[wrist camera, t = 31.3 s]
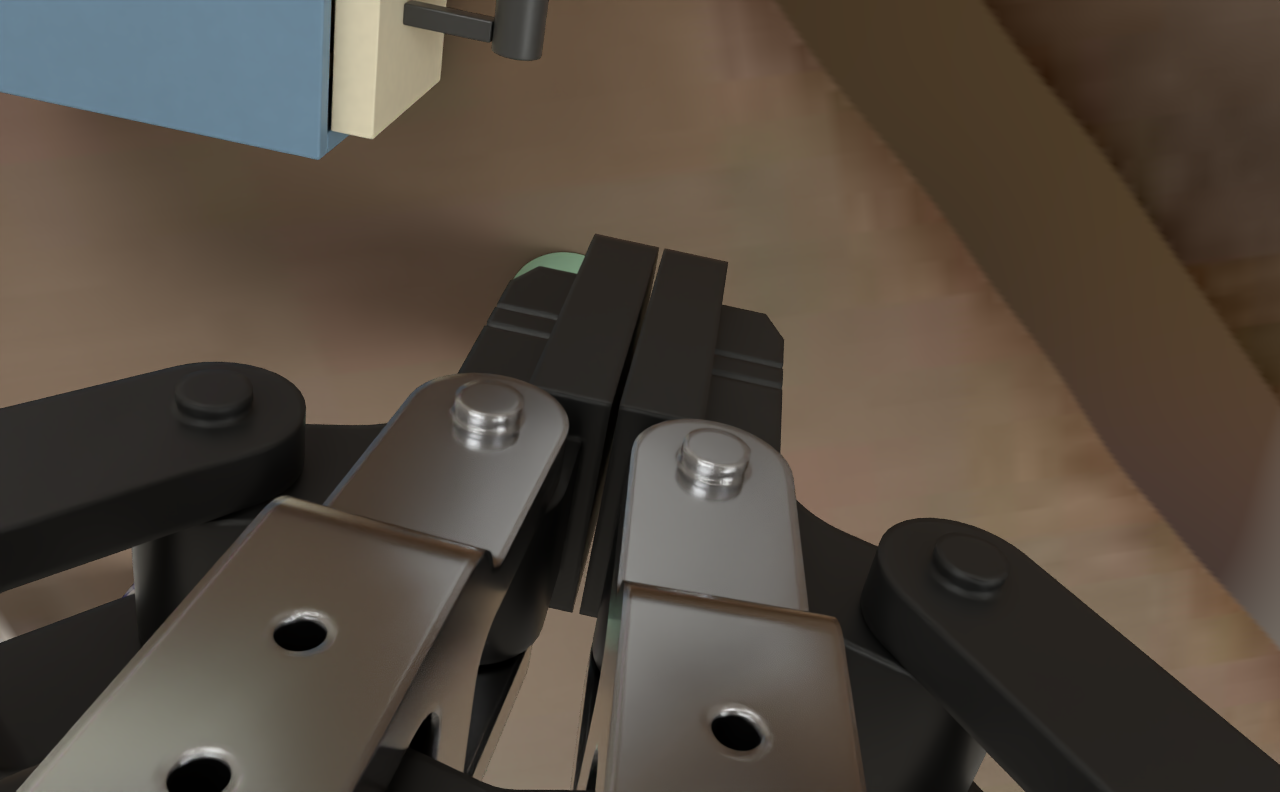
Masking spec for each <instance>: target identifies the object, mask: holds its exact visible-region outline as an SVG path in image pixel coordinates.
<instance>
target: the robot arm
mask: <svg viewBox="0 0 1280 792" xmlns="http://www.w3.org/2000/svg"><path fill="white" fill-rule="evenodd" d="M658 252H659V247H655V246H650V245H645V244H641V243H636V242H631V241H627V240H622V239H617V238H613V237H608V236H603V235H599V234H595V235H594V237H593V239H592V241H591V243H590V246H589V248H588V250H587V253H586V255H585V257H584V259H583V262H582V264H581V266H580V268H579V271H578V273H577V274H576V273H571V272H566V271H562V270H557V269H552V268H548V267H543V266H538V267H536V268H534V269H532V270H530V271H528V272H526V273H524V274H522V275H520V276H518V277H516V278H515V279H513V280H511V281H510V282H509V284H508V285H507V287H506V289H505V291H504V292H503V294H502V296H501V298H500V299H499V301H498V304H497V307H495V308H494V310H493V312H492V314H491V315H490V317H489V319H488V321H487V325H486V326H484V328H483V329H482V331H481V333H480V335H479V337H478V338H477V340H476V342H475V344H474V345H473V347H472V349H471V351H470V352H469V354H468V356H467V358H466V360H465V361H464V363H463V365H462V367H461V368H460V370H459V372H458V374H453V375H447V376H443V377H439V378H436V379H433V380H431V381H429V382H426V383H424V384H423V385H421V386H420V387H418V388H416V389H415V390H414V391H413V392H412V393H411V394H410V395H409V397H408V398H407V399H406V401H405V402H404V403H403V404H402V406H401V407H400V408H399V409H398V411H397V412H396V413H395V414H394V416H393V417H392V418H391V419H390V421H389V422H388V423H385V424H375V425H320V424H305V421H306V405H305V400H304V397H303V396H302V394H301V392H300V391H299V390H298V388H297V387H296V386H295V385H294V384H293V383H291V382H290V381H288V380H287V379H286V378H284V377H282V376H280V375H278V374H276V373H274V372H271V371H269V370H266V369H263V368H259V367H255V366H251V365H246V364H239V363H230V362H201V363H191V364H185V365H180V366H175V367H170V368H166V369H162V370H158V371H154V372H150V373H146V374H142V375H137V376H133V377H129V378H125V379H121V380H117V381H113V382H108V383H104V384H100V385H96V386H92V387H88V388H84V389H80V390H75V391H71V392H67V393H63V394H59V395H55V396H51V397H46V398H42V399H38V400H34V401H30V402H26V403H22V404H18V405H13V406H9V407H5V408H1V409H0V593H2V592H4V591H7V590H10V589H13V588H16V587H19V586H21V585H24V584H27V583H30V582H33V581H36V580H39V579H42V578H45V577H48V576H51V575H54V574H56V573H59V572H62V571H65V570H68V569H71V568H74V567H77V566H80V565H83V564H86V563H88V562H91V561H94V560H97V559H100V558H103V557H106V556H109V555H112V554H115V553H118V552H120V551H123V550H126V549H129V548H132V561H133V575H134V588H135V593H133V594H131V595H128V596H125V597H123V598H120V599H117V600H115V601H112V602H109V603H106V604H104V605H101V606H98V607H96V608H93V609H90V610H88V611H85V612H82V613H79V614H77V615H74V616H71V617H69V618H66V619H63V620H61V621H58V622H55V623H53V624H50V625H47V626H44V627H42V628H39V629H36V630H34V631H31V632H28V633H26V634H23V635H20V636H18V637H15V638H12V639H9V640H7V641H4V642H1V643H0V792H983V791H982V790H981V789H980V788H979V787H978V786H977V785H976V783H975V782H974V781H973V779H974V777H975V775H976V773H977V771H978V769H979V767H980V765H981V763H982V761H983V759H984V757H985V754H986V752H987V753H988V754H989V755H990V756H991V757H992V758H993V759H994V760H995V761H996V762H997V763H998V764H999V765H1000V766H1001V767H1002V768H1003V769H1004V770H1005V771H1006V772H1007V773H1008V774H1009V775H1010V776H1011V777H1012V778H1013V779H1014V780H1015V781H1016V783H1017V784H1018V785H1019V786H1020V787H1021V788H1022V789H1023V790H1024V791H1025V792H1280V765H1279V764H1278V763H1277V762H1275V761H1274V760H1273V759H1272V758H1271V757H1269V756H1268V755H1267V754H1266V753H1265V752H1263V751H1262V750H1261V749H1260V748H1259V747H1257V746H1256V745H1255V744H1254V743H1253V742H1251V741H1250V740H1249V739H1248V738H1246V737H1245V736H1244V735H1243V734H1242V733H1240V732H1239V731H1238V730H1237V729H1236V728H1234V727H1233V726H1232V725H1231V724H1230V723H1228V722H1227V721H1226V720H1225V719H1224V718H1222V717H1221V716H1220V715H1219V714H1217V713H1216V712H1215V711H1214V710H1213V709H1211V708H1210V707H1209V706H1208V705H1207V704H1205V703H1204V702H1203V701H1202V700H1201V699H1199V698H1198V697H1197V696H1196V695H1195V694H1193V693H1192V692H1191V691H1190V690H1188V689H1187V688H1186V687H1185V686H1184V685H1182V684H1181V683H1180V682H1179V681H1178V680H1176V679H1175V678H1174V677H1173V676H1172V675H1170V674H1169V673H1168V672H1167V671H1166V670H1164V669H1163V668H1162V667H1161V666H1159V665H1158V664H1157V663H1156V662H1155V661H1153V660H1152V659H1151V658H1150V657H1149V656H1147V655H1146V654H1145V653H1144V652H1143V651H1141V650H1140V649H1139V648H1138V647H1137V646H1135V645H1134V644H1133V643H1132V642H1130V641H1129V640H1128V639H1127V638H1126V637H1124V636H1123V635H1122V634H1121V633H1120V632H1118V631H1117V630H1116V629H1115V628H1114V627H1112V626H1111V625H1110V624H1109V623H1108V622H1106V621H1105V620H1104V619H1103V618H1101V617H1100V616H1099V615H1098V614H1097V613H1095V612H1094V611H1093V610H1092V609H1091V608H1089V607H1088V606H1087V605H1086V604H1085V603H1083V602H1082V601H1081V600H1080V599H1079V598H1077V597H1076V596H1075V595H1074V594H1072V593H1071V592H1070V591H1069V590H1068V589H1066V588H1065V587H1064V586H1063V585H1062V584H1060V583H1059V582H1058V581H1057V580H1056V579H1054V578H1053V577H1052V576H1051V575H1049V574H1048V573H1047V572H1046V571H1045V570H1043V569H1042V568H1041V567H1040V566H1039V565H1037V564H1036V563H1035V562H1034V561H1033V560H1031V559H1030V558H1029V557H1028V556H1027V555H1025V554H1024V553H1023V552H1021V551H1020V550H1019V549H1017V548H1016V547H1015V546H1013V545H1011V544H1010V543H1008V542H1006V541H1005V540H1003V539H1002V538H1000V537H998V536H996V535H994V534H992V533H989V532H987V531H985V530H982V529H980V528H977V527H975V526H972V525H968V524H965V523H961V522H958V521H952V520H947V519H938V518H917V519H911V520H906V521H903V522H901V523H898V524H896V525H894V526H893V527H891V528H889V529H888V530H887V531H886V533H885V534H884V535H883V536H882V539H881V541H880V543H879V546H875V545H873V544H871V543H868V542H866V541H864V540H861V539H859V538H857V537H855V536H852V535H850V534H848V533H845V532H843V531H841V530H839V529H837V528H835V527H833V526H831V525H829V524H828V523H826V522H824V521H823V520H821V519H819V518H818V517H816V516H815V515H814V514H812V513H811V512H810V511H808V510H807V509H806V508H805V507H804V506H803V505H802V504H800V503H799V502H798V501H797V500H796V496H795V487H794V479H793V475H792V471H791V469H790V467H789V465H788V463H787V461H786V460H785V459H784V458H783V456H782V455H781V454H780V445H781V414H782V384H783V369H782V367H783V353H784V339H783V337H782V336H781V335H780V333H779V332H778V330H777V329H776V328H775V326H774V325H773V323H772V322H771V321H770V319H769V318H768V316H767V315H766V314H763V313H758V312H754V311H749V310H744V309H740V308H735V307H730V306H726V305H722V300H723V293H724V287H725V280H726V273H727V267H728V262H726V261H721V260H716V259H712V258H707V257H702V256H698V255H693V254H688V253H684V252H679V251H674V250H670V249H664V252H663V255H662V259H661V262H660V266H659V269H658V273H657V276H656V280H655V283H654V287H653V290H652V294H651V289H652V284H653V279H654V274H655V269H656V264H657V258H658ZM650 294H651V297H650ZM649 300H650V301H649ZM596 523H597V525H596ZM595 527H596V530H595ZM594 531H595V535H594V541H593V546H592V551H591V556H590V561H589V566H588V572H587V577H586V582H585V587H584V592H583V597H582V603H581V608H580V613H579V614H582V615H587V616H591V617H596V618H597V622H596V627H595V632H594V637H593V643H592V647H591V652H590V657H589V661H588V666H587V671H586V676H585V681H584V686H583V693H582V701H581V708H580V716H579V723H578V731H577V739H576V746H575V754H574V761H573V769H572V777H571V784H570V790H513V789H503V788H499V787H494V786H492V785H489V784H486V783H484V782H482V779H483V777H484V774H485V772H486V770H487V767H488V765H489V762H490V760H491V758H492V755H493V753H494V750H495V748H496V746H497V743H498V741H499V738H500V736H501V734H502V731H503V729H504V726H505V724H506V722H507V719H508V717H509V714H510V712H511V710H512V707H513V705H514V702H515V700H516V698H517V695H518V693H519V690H520V688H521V686H522V683H523V681H524V679H525V676H526V674H527V670H528V667H529V662H530V656H531V650H532V644H533V643H534V641H535V640H536V639H537V637H538V636H539V634H540V632H541V630H542V627H543V624H544V620H545V617H546V614H547V611H548V607H549V608H553V609H558V610H563V611H567V612H573V608H574V604H575V601H576V597H577V593H578V590H579V586H580V582H581V579H582V575H583V571H584V568H585V564H586V560H587V557H588V553H589V549H590V545H591V542H592V538H593V534H594Z"/></svg>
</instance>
